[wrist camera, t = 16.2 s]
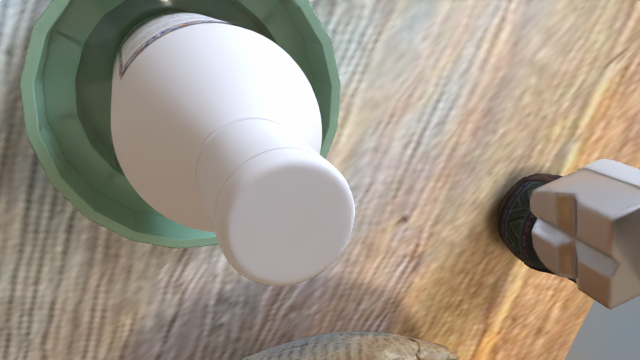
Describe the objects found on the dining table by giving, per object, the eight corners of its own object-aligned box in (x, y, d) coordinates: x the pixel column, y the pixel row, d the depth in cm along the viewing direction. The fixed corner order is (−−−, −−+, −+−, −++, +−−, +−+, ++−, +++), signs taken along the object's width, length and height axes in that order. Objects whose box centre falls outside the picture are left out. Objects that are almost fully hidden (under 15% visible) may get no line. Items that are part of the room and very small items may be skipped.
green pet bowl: (-14, -11, 24) (-50, -12, 19) (265, -79, 27) (301, -96, 22) (107, 237, 30) (105, 290, 25) (324, 156, 33) (363, 188, 28)
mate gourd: (479, 181, 38) (587, 238, 30) (559, 150, 40) (684, 194, 31) (486, 260, 41) (586, 333, 33) (561, 227, 43) (674, 288, 34)
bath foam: (229, 147, 30) (389, 369, 13) (103, 126, 27) (79, 375, 10) (256, 29, 28) (483, 93, 11) (124, -7, 26) (140, 2, 8)
